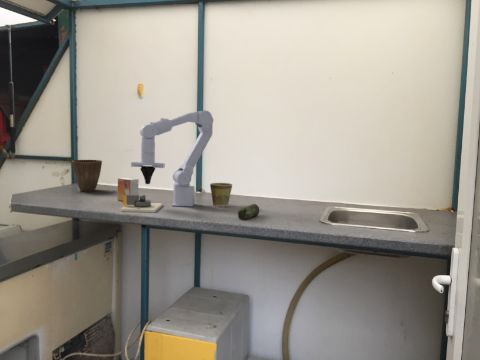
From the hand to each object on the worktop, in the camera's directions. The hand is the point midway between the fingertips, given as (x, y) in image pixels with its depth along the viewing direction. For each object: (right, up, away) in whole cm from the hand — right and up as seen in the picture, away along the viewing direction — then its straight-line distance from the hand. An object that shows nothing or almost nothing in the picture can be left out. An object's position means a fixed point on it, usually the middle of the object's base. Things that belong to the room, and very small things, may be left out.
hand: (147, 183), depth 177 cm
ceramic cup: (+32, -10, +10) cm, 35 cm away
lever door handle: (-4, -9, -4) cm, 11 cm away
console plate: (-1, -10, -4) cm, 11 cm away
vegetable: (+44, -14, -14) cm, 48 cm away
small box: (-12, -8, +13) cm, 20 cm away
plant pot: (-41, -4, +39) cm, 57 cm away
